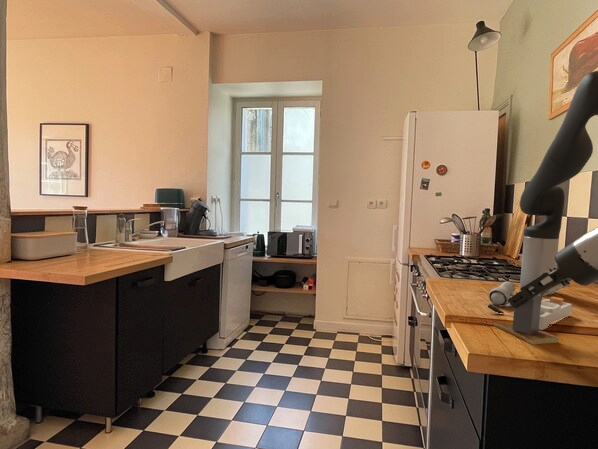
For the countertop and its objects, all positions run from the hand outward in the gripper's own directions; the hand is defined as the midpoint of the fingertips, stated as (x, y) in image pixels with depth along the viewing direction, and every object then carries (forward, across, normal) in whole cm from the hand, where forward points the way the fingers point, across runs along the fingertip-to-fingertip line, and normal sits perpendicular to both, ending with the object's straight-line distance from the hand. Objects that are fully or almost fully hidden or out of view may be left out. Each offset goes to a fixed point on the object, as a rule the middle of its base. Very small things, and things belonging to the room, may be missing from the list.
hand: (520, 301), depth 77 cm
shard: (+5, 0, +7) cm, 8 cm away
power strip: (+5, -17, +5) cm, 19 cm away
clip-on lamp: (+12, -18, -1) cm, 22 cm away
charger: (+3, 0, +5) cm, 6 cm away
